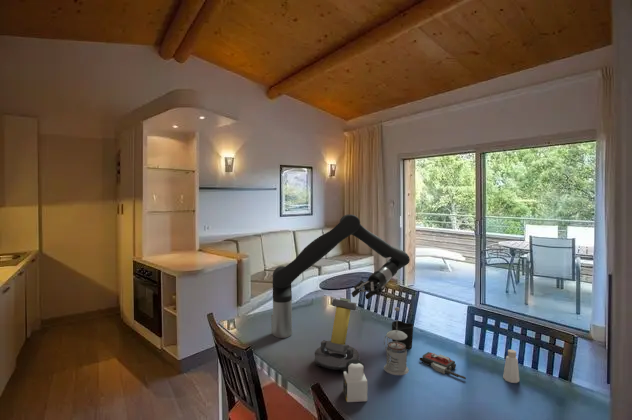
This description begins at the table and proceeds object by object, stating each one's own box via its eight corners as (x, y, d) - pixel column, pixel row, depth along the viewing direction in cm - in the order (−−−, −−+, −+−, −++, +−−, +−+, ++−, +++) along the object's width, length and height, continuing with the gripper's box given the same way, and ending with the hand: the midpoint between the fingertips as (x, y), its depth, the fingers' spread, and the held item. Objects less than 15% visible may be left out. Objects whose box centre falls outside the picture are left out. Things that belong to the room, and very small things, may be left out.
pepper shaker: (519, 384, 129) (520, 355, 129) (502, 380, 132) (503, 351, 132) (519, 378, 134) (520, 349, 133) (503, 374, 137) (504, 346, 136)
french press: (394, 377, 134) (395, 313, 133) (375, 364, 144) (376, 304, 143) (414, 371, 139) (415, 308, 137) (394, 358, 149) (395, 300, 148)
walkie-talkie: (416, 363, 145) (464, 383, 131) (416, 353, 145) (464, 371, 131) (427, 357, 152) (474, 374, 137) (427, 347, 151) (474, 363, 137)
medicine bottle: (343, 390, 126) (343, 357, 125) (362, 389, 126) (363, 356, 125) (346, 402, 118) (346, 367, 118) (367, 401, 119) (367, 367, 118)
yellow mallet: (322, 349, 144) (331, 295, 149) (329, 349, 149) (337, 297, 154) (344, 355, 139) (352, 299, 144) (350, 355, 144) (358, 301, 149)
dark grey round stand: (306, 367, 141) (306, 348, 141) (328, 350, 157) (328, 332, 156) (346, 380, 132) (346, 359, 131) (366, 361, 147) (366, 342, 147)
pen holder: (396, 351, 156) (397, 329, 155) (388, 342, 165) (388, 321, 164) (416, 349, 158) (417, 327, 157) (406, 340, 167) (407, 319, 166)
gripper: (366, 269, 172) (345, 287, 163) (389, 271, 161) (368, 290, 152) (371, 283, 174) (350, 301, 164) (394, 285, 163) (374, 305, 153)
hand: (359, 296), depth 158 cm, fingers open, 8 cm apart
